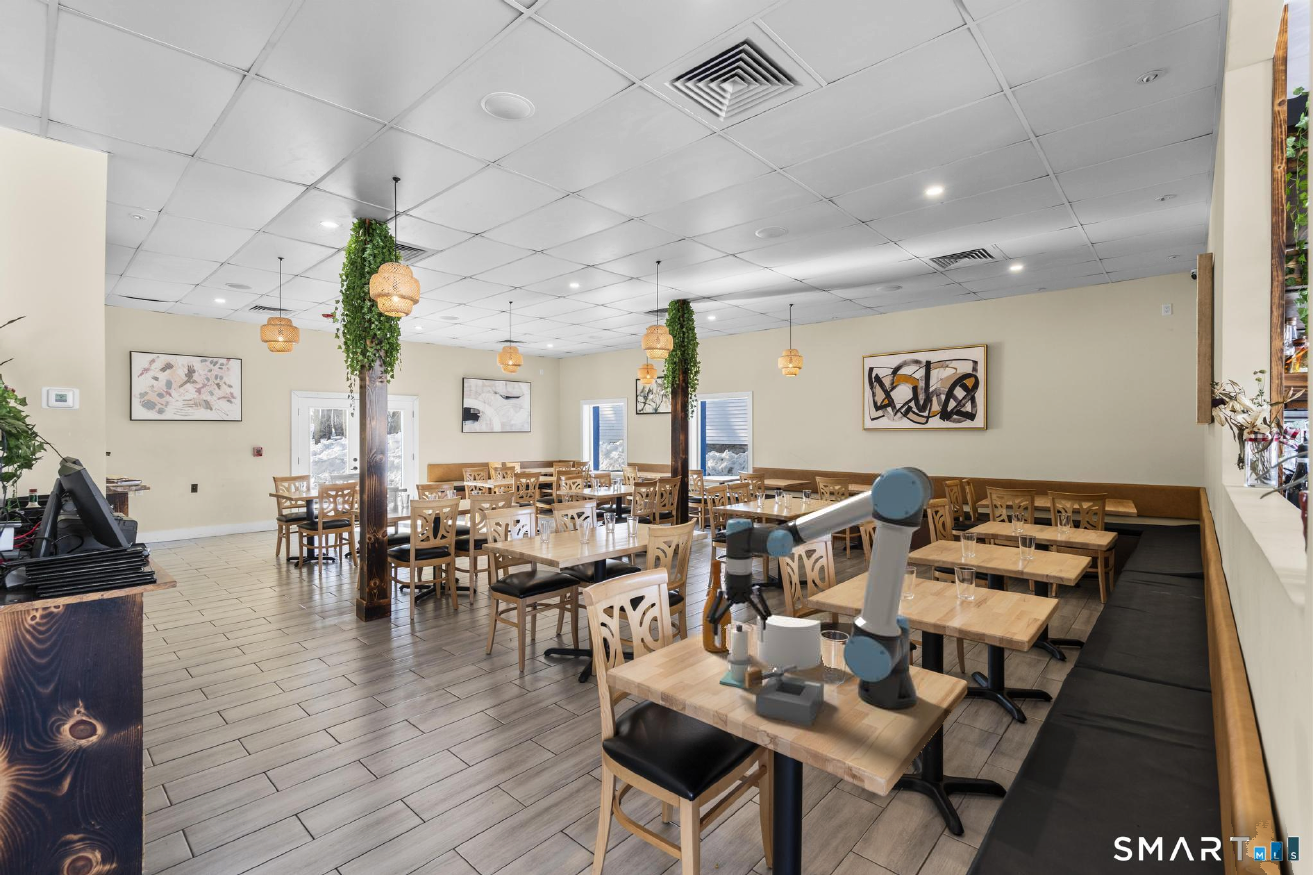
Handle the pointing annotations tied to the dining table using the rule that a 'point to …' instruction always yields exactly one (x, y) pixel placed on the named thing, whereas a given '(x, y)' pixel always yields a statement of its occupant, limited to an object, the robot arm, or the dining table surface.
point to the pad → (732, 681)
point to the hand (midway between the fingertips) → (739, 643)
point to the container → (790, 642)
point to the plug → (739, 653)
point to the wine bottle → (711, 594)
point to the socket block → (790, 699)
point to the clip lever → (765, 674)
